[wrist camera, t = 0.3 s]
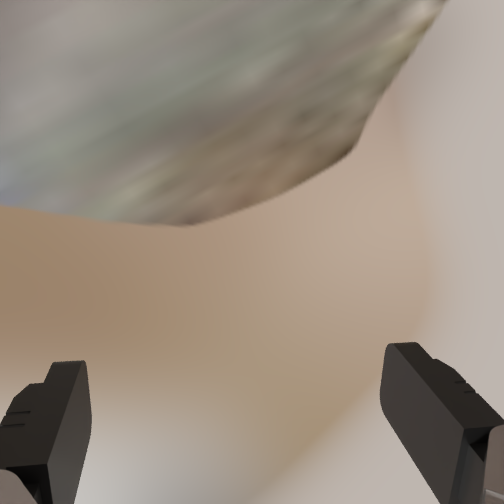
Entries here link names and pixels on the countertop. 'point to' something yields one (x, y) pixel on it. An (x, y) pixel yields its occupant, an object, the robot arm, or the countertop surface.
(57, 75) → the countertop surface
